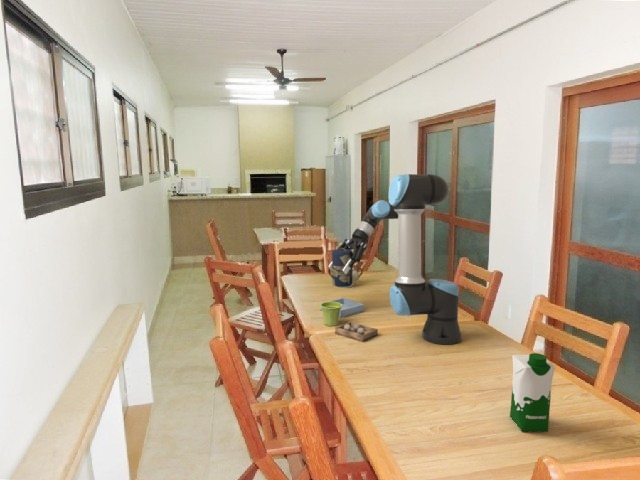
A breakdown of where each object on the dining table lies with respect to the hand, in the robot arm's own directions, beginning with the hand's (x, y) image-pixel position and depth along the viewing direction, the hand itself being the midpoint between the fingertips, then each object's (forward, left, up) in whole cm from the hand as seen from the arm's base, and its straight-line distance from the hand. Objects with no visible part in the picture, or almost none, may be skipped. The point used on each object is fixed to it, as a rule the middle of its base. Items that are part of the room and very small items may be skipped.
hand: (337, 270), depth 212 cm
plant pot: (-11, +12, -20) cm, 26 cm away
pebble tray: (-27, +12, -20) cm, 36 cm away
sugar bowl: (+33, -35, -20) cm, 52 cm away
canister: (0, -3, -8) cm, 9 cm away
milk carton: (-104, +21, -20) cm, 108 cm away
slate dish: (0, -3, -20) cm, 20 cm away
